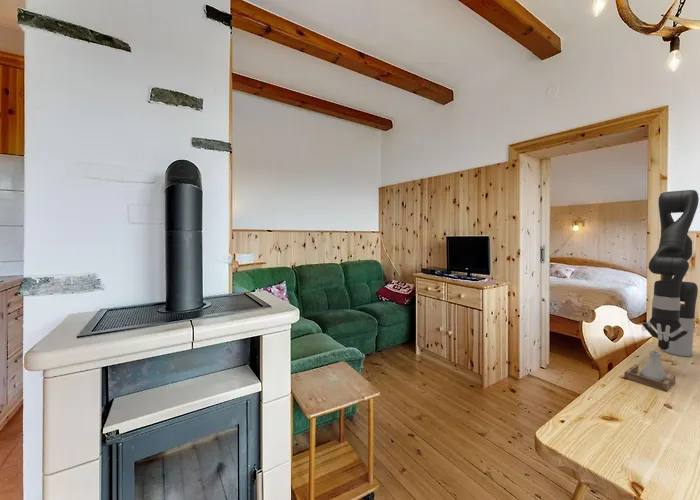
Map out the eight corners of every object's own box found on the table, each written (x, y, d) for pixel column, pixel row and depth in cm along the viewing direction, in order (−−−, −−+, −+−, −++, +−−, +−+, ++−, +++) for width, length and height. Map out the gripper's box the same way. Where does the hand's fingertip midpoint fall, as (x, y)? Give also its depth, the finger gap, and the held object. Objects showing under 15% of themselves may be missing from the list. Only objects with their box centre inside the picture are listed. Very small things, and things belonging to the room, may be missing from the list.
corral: (634, 370, 116) (635, 364, 116) (675, 382, 107) (675, 375, 107) (624, 378, 110) (624, 371, 110) (666, 391, 101) (666, 384, 101)
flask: (652, 372, 114) (654, 348, 114) (673, 382, 107) (675, 355, 106) (634, 373, 114) (636, 348, 113) (654, 382, 107) (656, 356, 106)
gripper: (693, 309, 111) (690, 352, 113) (645, 302, 123) (643, 341, 124) (688, 312, 108) (685, 357, 109) (639, 305, 119) (637, 345, 120)
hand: (663, 349), depth 116 cm, fingers closed
